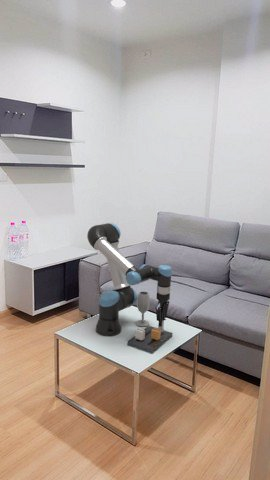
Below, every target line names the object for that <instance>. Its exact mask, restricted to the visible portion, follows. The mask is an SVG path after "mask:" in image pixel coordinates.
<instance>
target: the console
mask: <svg viewBox="0 0 270 480" xmlns="http://www.w3.org/2000/svg"><path fill="white" fill-rule="evenodd" d="M153 328H156V329H158V327H154V326H153V325H148V326H147V327H145V328H143V330H145V339H143V340H139V339H136V338H135V335H134V336H132V337H131V338H130V339H129V340H127V346H130V347H131V348H136V349H139V350H140V351H144V352H146V353H149V354H154V353H155V352H156V351H157V350H159V349H160V348H161V347H163V345H164V344H165V343H167V342H168V341H169V340H170V339H171V338H172V337H173V332H172V331H171V332H170V331H168V330H164V329H163V332H161V335H160V339H159V340H155V339H152V338H151V330H152V329H153Z"/></svg>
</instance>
